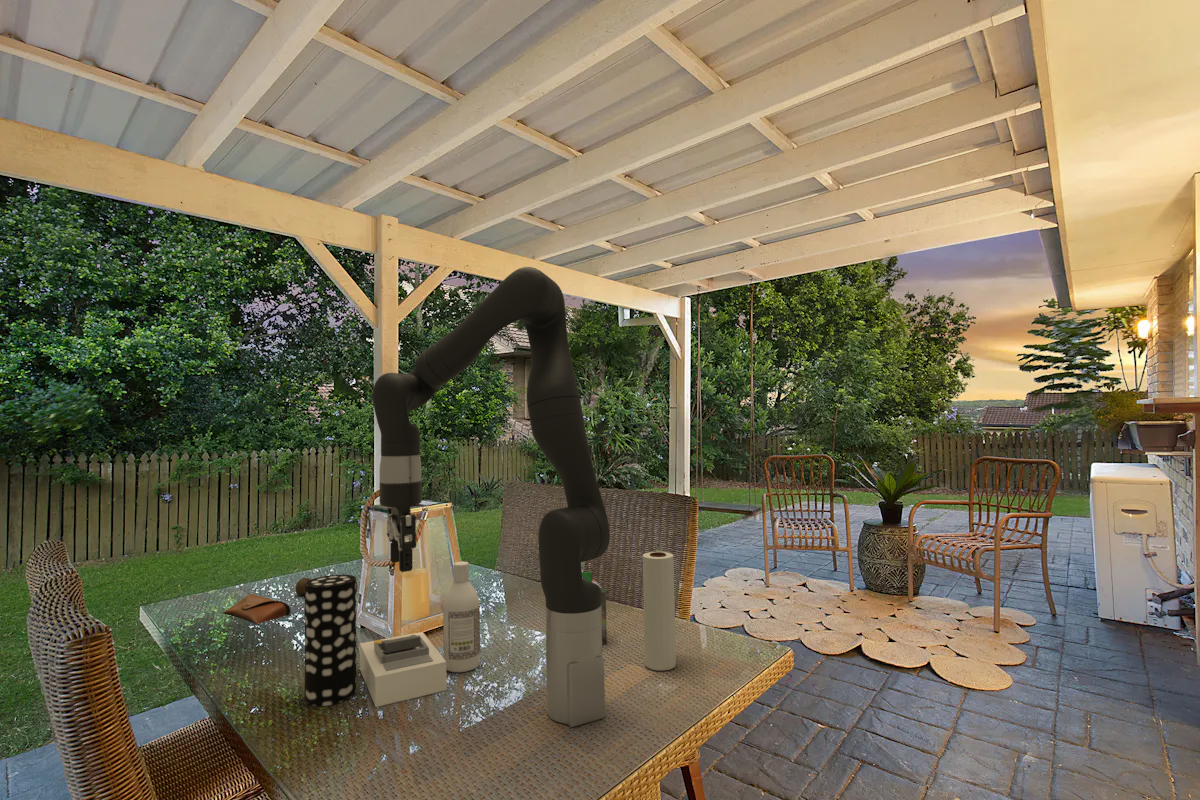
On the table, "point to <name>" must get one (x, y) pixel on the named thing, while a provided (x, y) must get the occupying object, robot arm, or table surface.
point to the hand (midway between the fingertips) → (401, 566)
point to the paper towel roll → (659, 610)
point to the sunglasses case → (258, 609)
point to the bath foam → (461, 623)
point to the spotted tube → (330, 639)
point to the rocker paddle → (401, 643)
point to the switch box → (402, 671)
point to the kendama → (301, 586)
